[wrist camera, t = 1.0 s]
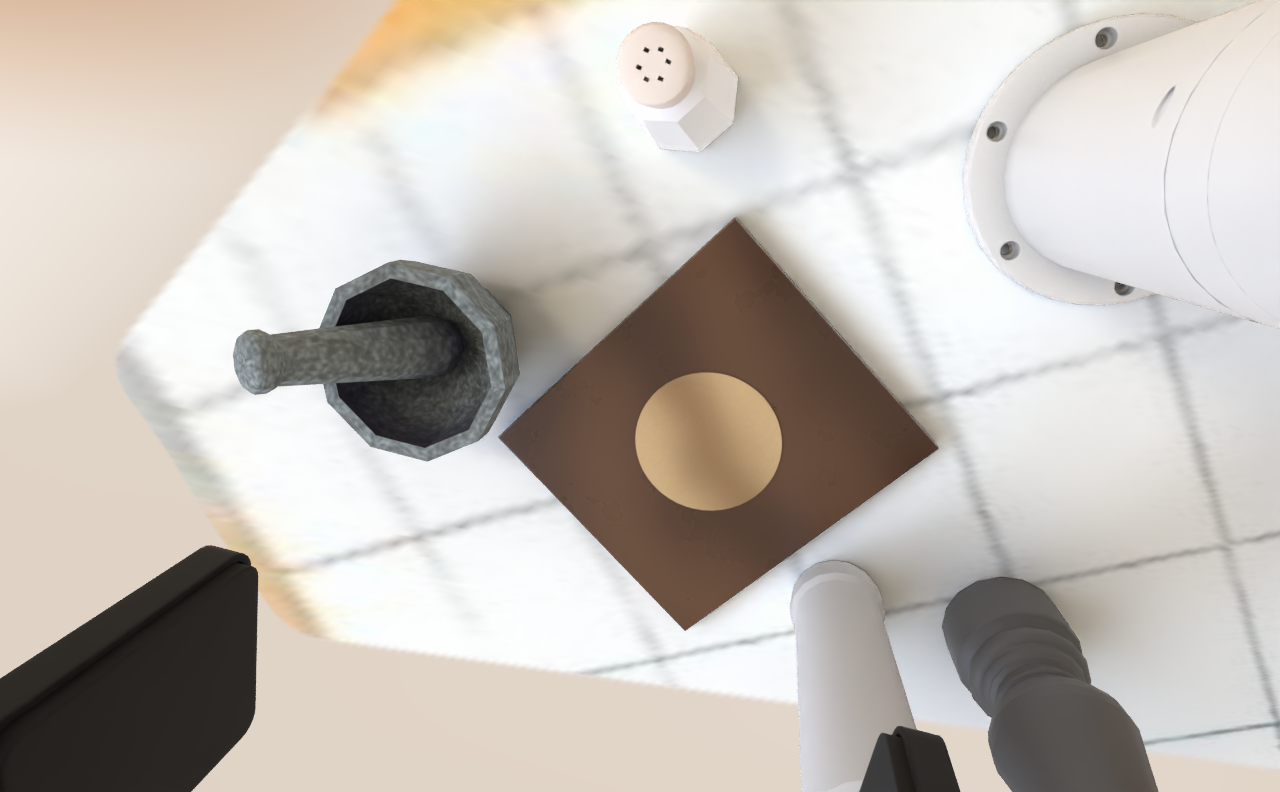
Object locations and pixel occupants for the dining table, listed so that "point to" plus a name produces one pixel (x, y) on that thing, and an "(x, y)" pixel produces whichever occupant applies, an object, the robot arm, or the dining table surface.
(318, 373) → the mortar and pestle
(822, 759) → the bottle
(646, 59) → the pepper shaker
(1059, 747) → the candle holder
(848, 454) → the board
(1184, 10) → the dining table surface
